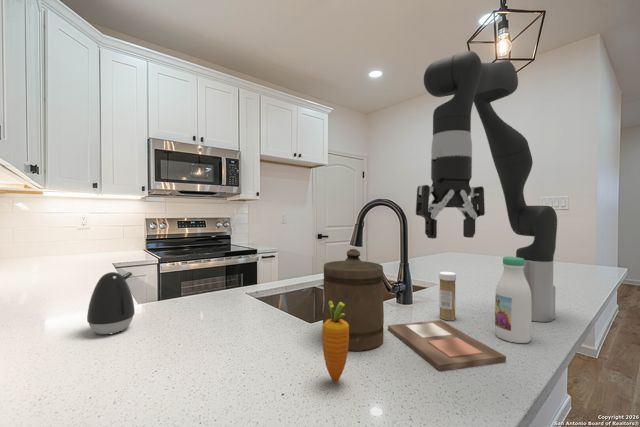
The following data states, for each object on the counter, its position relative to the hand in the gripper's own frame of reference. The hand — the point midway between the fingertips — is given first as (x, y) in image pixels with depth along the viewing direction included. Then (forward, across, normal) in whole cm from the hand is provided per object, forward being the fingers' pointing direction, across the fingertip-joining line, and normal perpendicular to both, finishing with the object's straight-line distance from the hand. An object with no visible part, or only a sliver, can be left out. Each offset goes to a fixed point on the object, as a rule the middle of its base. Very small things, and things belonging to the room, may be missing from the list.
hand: (450, 237), depth 63 cm
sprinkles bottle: (+26, -18, -25) cm, 41 cm away
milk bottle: (+26, -25, -9) cm, 37 cm away
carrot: (+26, +24, 0) cm, 36 cm away
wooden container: (+26, +14, -18) cm, 35 cm away
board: (+26, -5, -10) cm, 28 cm away
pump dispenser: (+26, +73, -37) cm, 86 cm away
